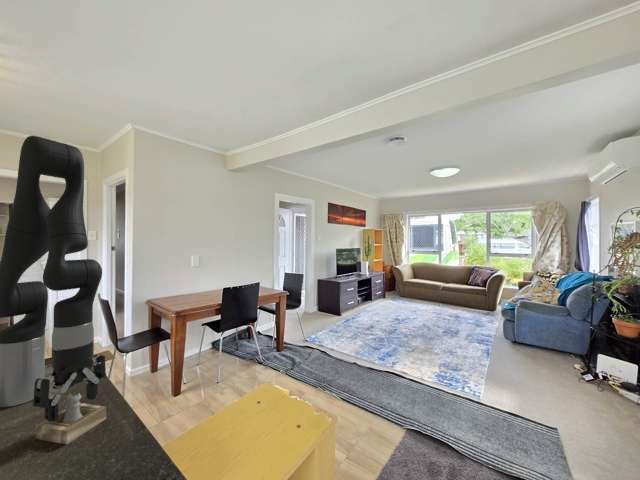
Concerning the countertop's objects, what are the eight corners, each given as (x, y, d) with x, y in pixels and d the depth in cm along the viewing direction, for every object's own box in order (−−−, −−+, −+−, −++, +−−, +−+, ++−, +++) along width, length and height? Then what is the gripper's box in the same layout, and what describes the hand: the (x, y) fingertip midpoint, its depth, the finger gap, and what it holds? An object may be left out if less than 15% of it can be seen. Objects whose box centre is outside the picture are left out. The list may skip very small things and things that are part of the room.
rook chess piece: (63, 437, 62) (63, 402, 62) (56, 430, 65) (57, 396, 65) (87, 426, 66) (88, 393, 66) (80, 419, 68) (81, 388, 68)
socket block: (35, 438, 62) (35, 425, 62) (77, 413, 71) (77, 402, 71) (66, 444, 60) (67, 430, 60) (106, 418, 69) (106, 406, 69)
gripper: (91, 331, 73) (90, 391, 73) (24, 352, 59) (23, 426, 59) (114, 333, 72) (113, 394, 72) (51, 355, 58) (50, 431, 58)
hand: (72, 409), depth 65 cm, fingers open, 8 cm apart
